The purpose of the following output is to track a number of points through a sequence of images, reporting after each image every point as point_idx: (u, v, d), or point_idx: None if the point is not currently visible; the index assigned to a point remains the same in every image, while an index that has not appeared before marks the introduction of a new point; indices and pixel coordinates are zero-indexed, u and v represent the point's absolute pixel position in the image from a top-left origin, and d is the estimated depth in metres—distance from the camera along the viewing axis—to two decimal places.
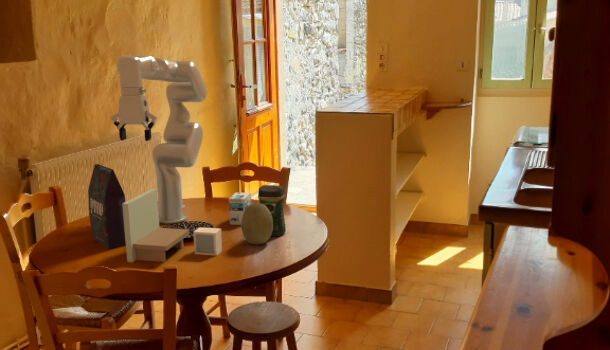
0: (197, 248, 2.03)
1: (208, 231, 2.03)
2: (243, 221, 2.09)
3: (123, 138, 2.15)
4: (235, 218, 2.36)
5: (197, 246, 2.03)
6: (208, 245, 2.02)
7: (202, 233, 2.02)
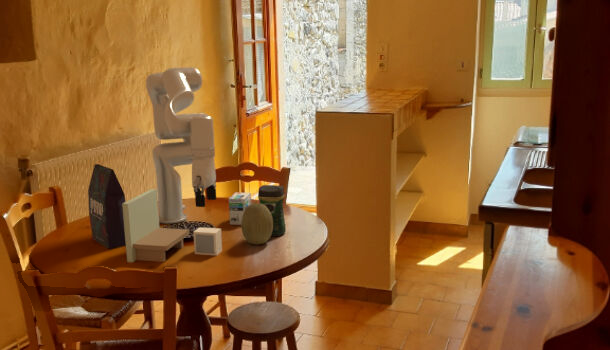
0: (197, 248, 2.03)
1: (208, 231, 2.03)
2: (243, 221, 2.09)
3: None
4: (235, 218, 2.36)
5: (197, 246, 2.03)
6: (208, 245, 2.02)
7: (202, 233, 2.02)
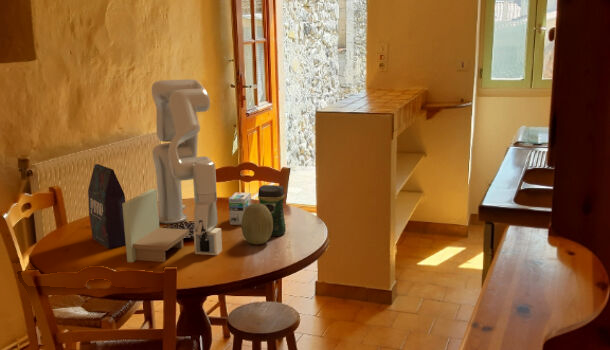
0: (197, 248, 2.03)
1: None
2: (243, 221, 2.09)
3: None
4: (235, 218, 2.36)
5: (197, 246, 2.03)
6: None
7: None
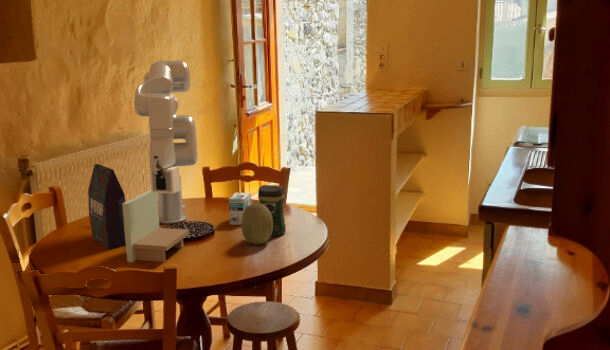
0: (154, 186, 1.97)
1: None
2: (243, 221, 2.09)
3: None
4: (235, 218, 2.36)
5: (154, 184, 1.97)
6: None
7: (158, 170, 1.96)
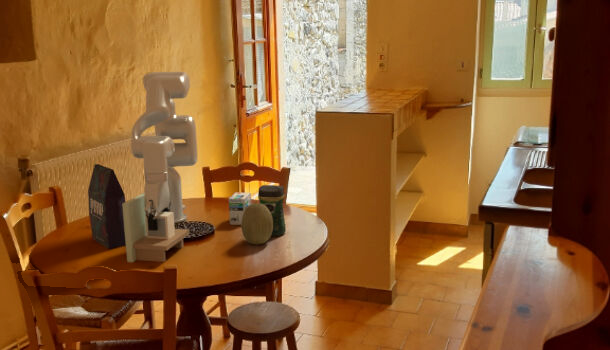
0: (149, 232, 2.02)
1: (160, 214, 2.02)
2: (243, 221, 2.09)
3: None
4: (235, 218, 2.36)
5: (149, 230, 2.02)
6: (159, 228, 2.01)
7: None
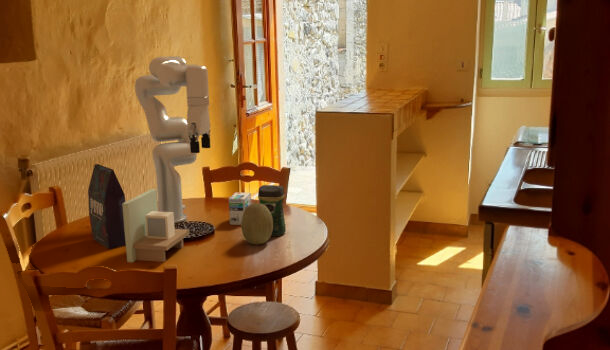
0: (149, 232, 2.02)
1: (160, 214, 2.02)
2: (243, 221, 2.09)
3: None
4: (235, 218, 2.36)
5: (149, 230, 2.02)
6: (159, 228, 2.01)
7: (154, 216, 2.01)
